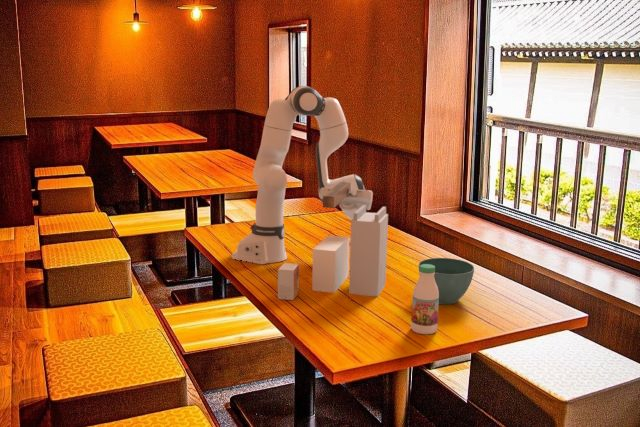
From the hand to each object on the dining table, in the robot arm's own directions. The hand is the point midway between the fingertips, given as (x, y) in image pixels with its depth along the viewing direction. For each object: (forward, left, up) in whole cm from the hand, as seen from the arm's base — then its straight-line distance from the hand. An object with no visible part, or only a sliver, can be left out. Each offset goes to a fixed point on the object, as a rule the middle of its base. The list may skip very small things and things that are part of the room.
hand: (342, 188), depth 244 cm
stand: (+14, -15, -32) cm, 38 cm away
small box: (-10, -31, -33) cm, 46 cm away
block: (0, -13, -32) cm, 35 cm away
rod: (0, -7, -3) cm, 8 cm away
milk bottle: (+38, -46, -33) cm, 68 cm away
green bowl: (+41, -18, -33) cm, 55 cm away
